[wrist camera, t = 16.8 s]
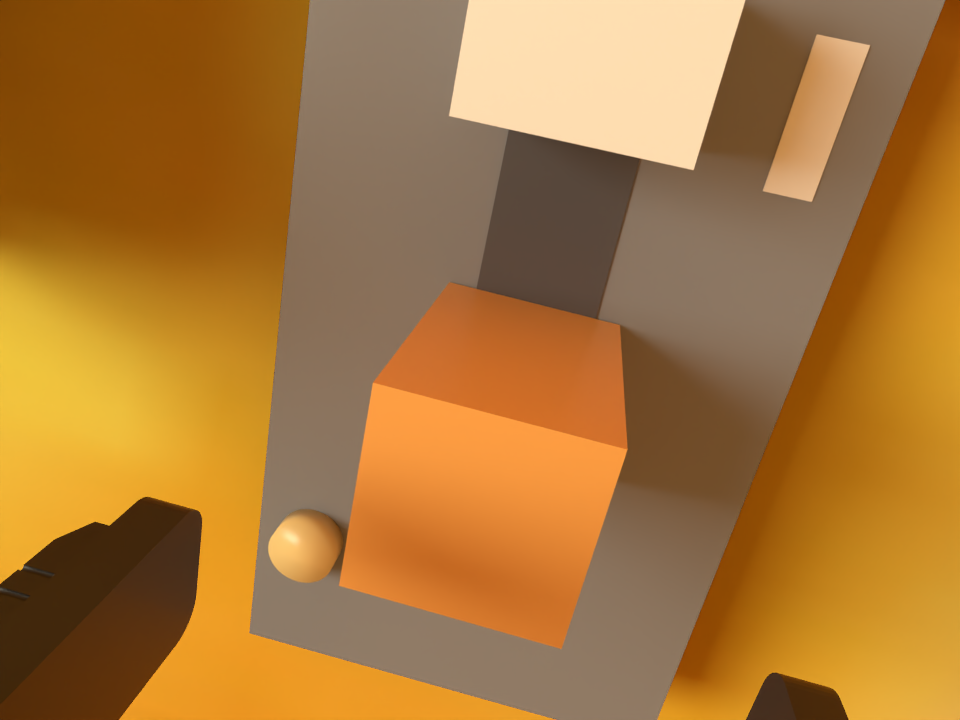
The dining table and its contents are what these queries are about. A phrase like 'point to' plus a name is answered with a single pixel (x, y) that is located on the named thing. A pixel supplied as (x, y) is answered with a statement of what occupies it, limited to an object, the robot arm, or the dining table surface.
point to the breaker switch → (597, 71)
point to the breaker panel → (572, 288)
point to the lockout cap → (489, 464)
